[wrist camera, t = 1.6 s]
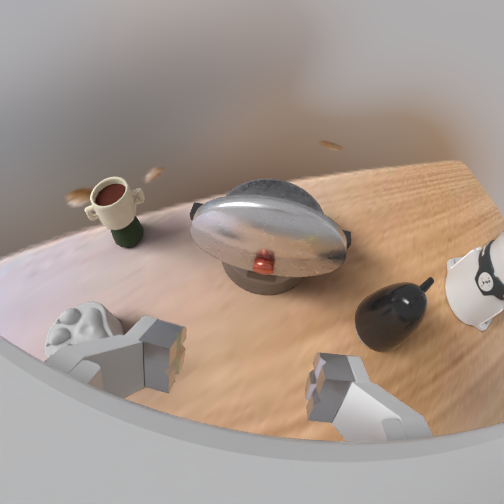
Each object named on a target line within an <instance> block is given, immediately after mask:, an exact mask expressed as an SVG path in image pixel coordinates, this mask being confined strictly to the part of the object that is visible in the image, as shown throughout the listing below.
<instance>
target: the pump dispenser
mask: <svg viewBox="0 0 504 504" xmlns="http://www.w3.org/2000/svg"><path fill="white" fill-rule="evenodd" d="M433 283H434V279H433V278H432V277H429V278H428V279H427V280H426V281H425V282H424V283H422V284H421V285H420V286H418V285H416V284H414V283H409V282H401V283H396V284H392V285H389V286H386V287H384V288H381V289H379V290H377V291H375V292H374V293H372V294H370V295H369V296H367V297H366V298H365V299H364V300H363V301H362V302H361V303H360V304H359V306H358V308H357V310H356V314H355V331H356V334H357V336H358V338H359V340H360V341H361V342H362V343H363V344H364V345H365V346H366V347H368V348H370V349H372V350H375V351H378V352H389V351H392V350H394V349H396V348H398V347H399V346H401V345H402V344H403V343H404V342H405V341H407V340H408V339H409V338H410V337H411V336H412V334H413V333H414V332H415V331H416V329H417V328H418V327H419V325H420V324H421V322H422V320H423V318H424V316H425V313H426V309H427V297H426V294H425V292H426V291H427V290H428V289H429V288H430V287H431V285H432V284H433Z"/></svg>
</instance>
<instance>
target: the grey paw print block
mask: <svg viewBox="0 0 504 504" xmlns="http://www.w3.org/2000/svg"><path fill="white" fill-rule="evenodd" d="M120 334H121V335H124V333H123V328H122V325H121V322H120V321H119V320H118V319H117V318H116V317H115V316H114V315H113V314H112V313H110V312H109V311H108V310H107V309H106V308H105V307H104V306H103V305H102V304H100V303H97V302H86V303H83V304H80V305H77V306H75V307H73V308H69V309H66V310H65V311H63V313H62V314H61V315H60V316H59V317H58V318H57V319H56V321H55V322H54V323H53V325H52V326H51V328H50V329H49V332H48V334H47V337H46V341H45V354H46V357H47V359H48V358H49V357H50V356H51V355H53V354H54V353H55V352H56V351H57V350H59V349H60V348H61V347H65V346H70V345H74V344H79V343H84V342H89V341H93V340H98V339H102V338H107V337H111V336H116V335H120Z"/></svg>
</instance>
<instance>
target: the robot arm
mask: <svg viewBox="0 0 504 504" xmlns="http://www.w3.org/2000/svg"><path fill="white" fill-rule="evenodd" d="M447 270H448V274H447V278H446V284H445V288H446V295H447V299H448V302H449V305H450V307H451V309H452V310H453V312H454V314H455V315H456V316H457V317H458V318H459V319H460V320H461V321H462V322H464V323H465V324H468V325H472V326H475V327H476V328H477V329H479V330H480V331H484V330H486V329H487V327H488V326H489V324H490V322H491V321H492V319H493V317H494V316H495V315H497V314H498V313H500V312H501V311H502V310H503V307H504V231H503V232H502V233H501V235H500V236H499V237H498V238H497V239H496V240H492V241H491V242H490V243H488V244H487V245H486V246H485V247H484V248H483V249H482V248H481V247H478V248H476V249H473V250H471V251H470V252H469V253H468V254H466V255H465V256H464V257H458V258H453V259H450V260H448V261H447ZM186 331H187V330H186V327H185V326H181V325H178V324H174V323H170V322H167V321H163V320H160V319H157V318H153V317H149V316H143V317H142V318H141V319H140V320H139V321H138V322H137V323H136V324H135V325H134V326H133V327H132V328H131V329H130V330H129V331H128V332H127V333H126V334H125V335H121V334H120V335H116V336H111V337H107V338H102V339H98V340H93V341H89V342H84V343H79V344H74V345H70V346H65V347H61V348H60V349H59V350H57V351H56V352H55V353H54V354H53V355H51V356H50V357H49V358H48V359H47V360H46V361H44V362H43V361H41V360H40V359H38V358H36V357H34V356H33V355H31V354H29V353H27V352H26V351H24V350H22V349H21V348H19V347H18V346H16V345H14V344H13V343H11V342H10V341H8V340H7V339H5V338H4V337H2V336H1V335H0V504H504V422H503V423H499V424H495V425H491V426H487V427H483V428H479V429H474V430H469V431H464V432H459V433H454V434H448V435H441V436H433V434H432V432H431V430H430V428H429V426H428V424H427V423H426V421H425V419H424V417H423V416H422V415H420V414H419V413H417V412H416V411H414V410H413V409H411V408H410V407H408V406H407V405H405V404H404V403H403V402H401V401H400V400H398V399H397V398H395V397H394V396H392V395H391V394H390V393H388V392H387V391H385V390H384V389H382V388H381V387H380V386H378V385H377V384H375V383H371V381H370V379H369V377H368V374H367V372H366V370H365V367H364V365H363V363H362V360H361V358H360V357H359V356H349V355H338V354H328V353H317V354H316V356H315V358H314V361H313V366H314V370H312V371H311V372H310V373H309V376H308V379H307V382H306V387H305V397H306V399H307V400H308V404H307V406H306V408H307V418H308V420H310V421H319V422H330V423H332V424H333V426H334V427H335V428H336V429H337V430H338V432H339V433H340V434H341V435H342V436H343V438H344V439H345V440H346V441H321V440H306V439H295V438H285V437H277V436H269V435H262V434H256V433H250V432H244V431H238V430H233V429H228V428H223V427H218V426H214V425H209V424H205V423H201V422H197V421H193V420H189V419H185V418H182V417H178V416H175V415H171V414H168V413H165V412H161V411H158V410H155V409H152V408H149V407H146V406H143V405H140V404H137V403H134V402H132V401H129V400H126V399H124V398H125V397H127V396H129V395H131V394H133V393H135V392H137V391H139V390H141V389H143V388H144V387H148V388H151V389H154V390H158V391H162V392H165V393H169V392H170V390H171V388H172V386H173V384H174V382H175V375H177V374H179V372H180V370H181V368H182V365H183V362H184V356H185V348H184V346H183V343H184V341H185V339H186Z"/></svg>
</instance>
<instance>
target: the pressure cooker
mask: <svg viewBox="0 0 504 504" xmlns="http://www.w3.org/2000/svg"><path fill="white" fill-rule="evenodd" d="M231 195H264V196H271V197H277V198H282V199H286V200H290V201H294V202H297V203H300V204H303V205H305V206H308V207H310V208H313V209H315V210H317V211H319V212H321V213H322V214H323V211H322V209H321V207H320V206H319V204H318V203H317V201H316V200H315V199H314V198H313V197H312V196H311V195H310V194H309V193H308V192H306V191H305V190H303V189H302V188H300V187H298V186H296V185H294V184H292V183H289V182H286V181H282V180H276V179H257V180H253V181H249V182H246V183H243V184H241V185H239V186H237V187H235V188H234V189H233V190H231V191H230V192H229V193H228V194H227V195H226V196H231ZM202 205H203V204H201V203H194V204H193V207H192V209H191V212H190V218H191V220H193V218H194V215H195V213H196V211H197V210H198V208H199V207H201V206H202ZM342 231H343V232H344V234H345V236H346V240H347V246H346V249H348V248H349V246H350V245H351V232H349V231H344V230H342ZM222 263H223V267H224V269H225V271H226V273H227V275H228V276H229V277H230V279H231V280H232V281H233V282H234V283H235V284H237V285H238V286H239V287H241V288H243V289H244V290H246V291H249V292H251V293H255V294H260V295H275V294H280V293H283V292H286V291H288V290H290V289H291V288H293V287H294V286H296V285H297V284H298V283H299V282H300V281H301V279H302V278H303V277H286V276H275V275H263V274H259V273H256V272H253V271H249V270H245V269H242V268H239V267H236V266H233V265H230V264H228V263H225V262H223V261H222Z"/></svg>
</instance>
